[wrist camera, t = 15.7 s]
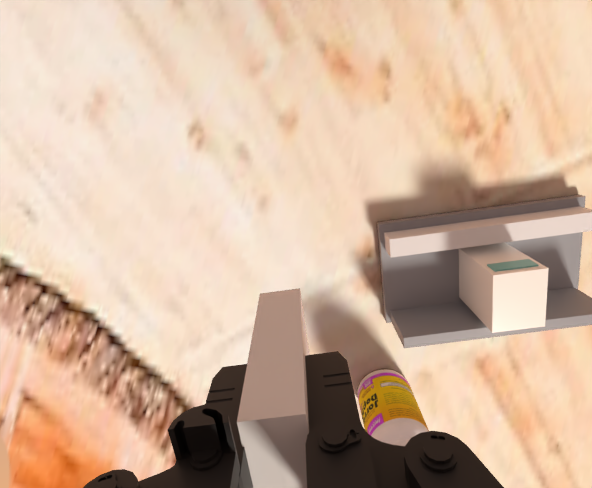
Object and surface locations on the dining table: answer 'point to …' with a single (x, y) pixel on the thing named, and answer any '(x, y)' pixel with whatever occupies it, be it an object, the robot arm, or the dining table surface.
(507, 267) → the block
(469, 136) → the dining table surface
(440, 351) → the dining table surface
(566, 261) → the rail base
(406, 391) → the supplement bottle
